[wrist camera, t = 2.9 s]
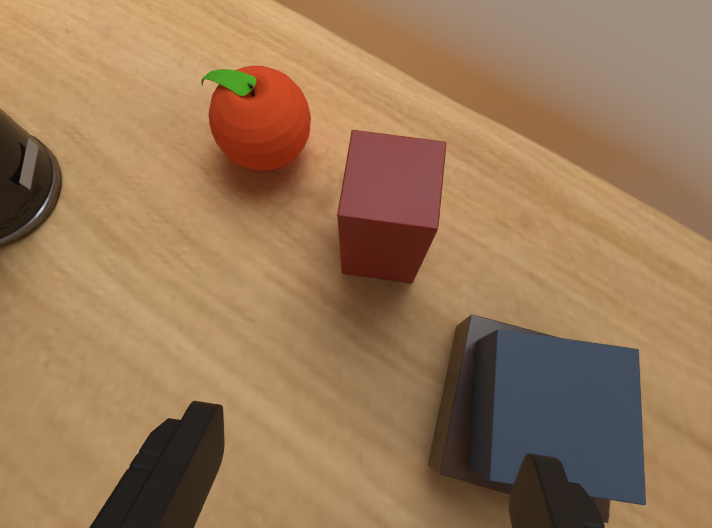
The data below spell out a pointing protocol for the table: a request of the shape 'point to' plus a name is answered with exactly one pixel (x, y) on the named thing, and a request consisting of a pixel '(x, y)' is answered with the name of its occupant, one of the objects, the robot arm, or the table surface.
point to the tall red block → (389, 204)
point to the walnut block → (469, 408)
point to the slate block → (559, 411)
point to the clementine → (258, 116)
